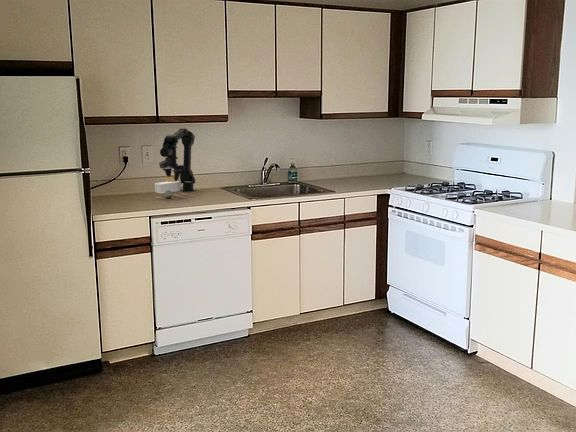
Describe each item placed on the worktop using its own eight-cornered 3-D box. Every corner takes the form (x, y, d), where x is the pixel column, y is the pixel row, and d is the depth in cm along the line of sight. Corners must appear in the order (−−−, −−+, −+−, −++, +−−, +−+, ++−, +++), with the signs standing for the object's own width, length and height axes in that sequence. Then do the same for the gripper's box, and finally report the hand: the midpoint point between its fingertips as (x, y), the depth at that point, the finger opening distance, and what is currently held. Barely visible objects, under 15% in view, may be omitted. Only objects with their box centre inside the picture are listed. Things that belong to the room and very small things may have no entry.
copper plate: (180, 194, 385) (180, 192, 385) (195, 197, 374) (195, 195, 374) (154, 198, 371) (154, 196, 371) (169, 201, 360) (169, 200, 360)
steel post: (169, 197, 368) (168, 189, 367) (172, 198, 365) (172, 190, 364) (164, 198, 365) (164, 190, 364) (167, 199, 363) (167, 191, 362)
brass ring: (173, 180, 374) (173, 175, 373) (180, 181, 369) (180, 176, 368) (164, 181, 369) (164, 176, 368) (171, 182, 364) (170, 177, 363)
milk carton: (154, 183, 386) (178, 180, 399) (155, 193, 387) (178, 190, 400) (160, 184, 381) (184, 181, 394) (160, 195, 382) (184, 191, 395)
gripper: (152, 155, 366) (153, 180, 369) (169, 157, 354) (170, 182, 357) (167, 154, 374) (167, 178, 377) (184, 156, 362) (185, 181, 365)
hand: (172, 180), depth 369 cm, fingers closed on brass ring, 7 cm apart
